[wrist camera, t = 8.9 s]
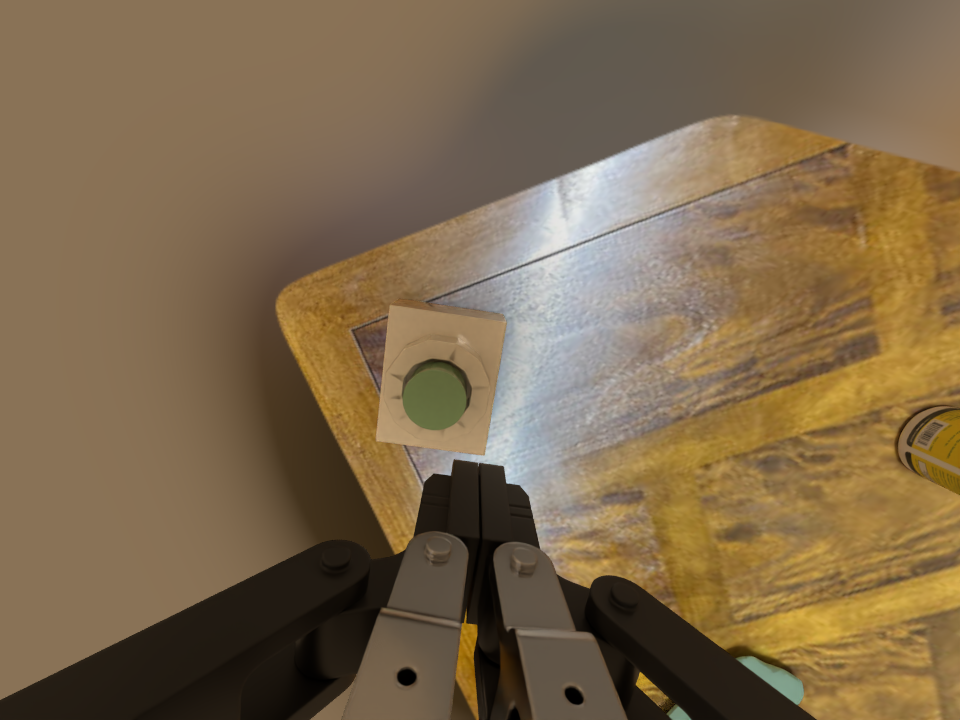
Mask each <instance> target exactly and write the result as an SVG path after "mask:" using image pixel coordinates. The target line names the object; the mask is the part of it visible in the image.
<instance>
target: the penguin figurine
mask: <svg viewBox="0 0 960 720" xmlns="http://www.w3.org/2000/svg"><path fill="white" fill-rule="evenodd" d="M735 659H737V660H738V661H739V662H741V663H742V664H743V665H745V666H746V667H747V668H749V669H750V670H751V671H753V672H754V673H755V674H757V675H758V676H759V677H761V678H762V679H763V680H765V681H766V682H767V683H768V684H770V685H771V686H772V687H774V688H775V689H776V690H778V691H779V692H780V693H782V694H783V695H784V696H786V697H787V698H788V699H790V700H791V701H792V702H794V703H795V704H796V705H798V704H799V703H800V702H801V700H802V698H803V694H804V689H803V684H802V682H801V681H800V680H799V679H798V678H797V677H795V676H794V675H792V674H791V673H789V672H788V671H786V670H784V669H782V668H779V667H776V666H773V665H770V664H767V663H764V662H763V661H761V660H759V659H757V658H756V657H753V656H741V657H737V658H735ZM667 715H668V716H669V717H670V718H671V719H672V720H691V719H690V717H689V716H688V715H687V714H686V713H685V712H684V711H683V710H682V709H681V708H680V707H679V706H678V705H676V704H675V705H674V707H673V708H672V709H671V710H670V711H669V712H668V713H667Z"/></svg>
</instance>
